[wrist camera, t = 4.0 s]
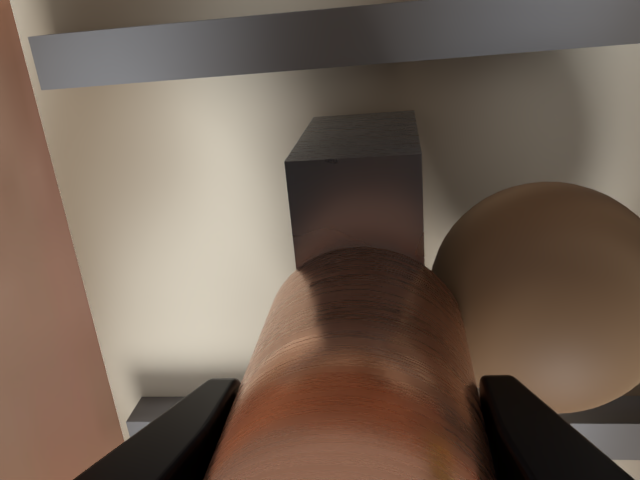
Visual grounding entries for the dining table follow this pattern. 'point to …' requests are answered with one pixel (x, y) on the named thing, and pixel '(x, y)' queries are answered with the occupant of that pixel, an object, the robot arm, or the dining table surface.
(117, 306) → the nutcracker board
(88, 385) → the dining table surface
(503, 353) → the walnut
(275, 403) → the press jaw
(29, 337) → the dining table surface
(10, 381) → the dining table surface
